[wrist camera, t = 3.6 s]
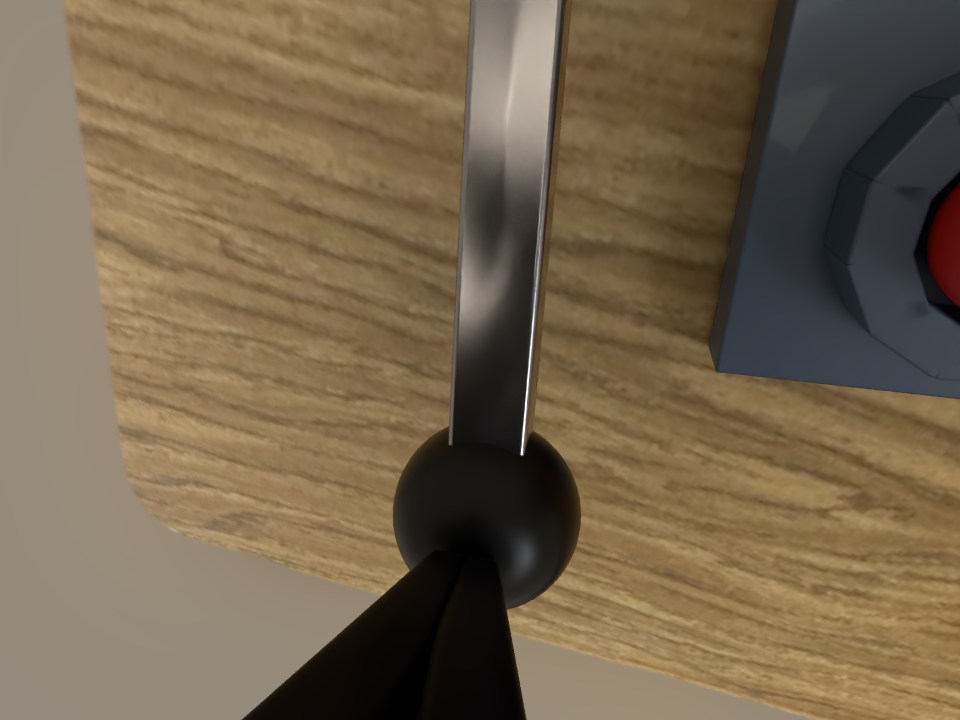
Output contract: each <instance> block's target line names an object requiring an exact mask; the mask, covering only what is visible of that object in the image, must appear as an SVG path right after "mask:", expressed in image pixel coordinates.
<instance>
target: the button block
mask: <svg viewBox="0 0 960 720" xmlns="http://www.w3.org/2000/svg"><path fill="white" fill-rule="evenodd" d="M959 182H960V0H779V2H778V7H777V12H776V17H775V22H774V27H773V32H772V37H771V41H770V46H769V51H768V56H767V61H766V66H765V71H764V76H763V81H762V86H761V91H760V95H759V100H758V105H757V110H756V115H755V120H754V125H753V130H752V135H751V140H750V145H749V150H748V154H747V159H746V164H745V169H744V174H743V179H742V184H741V189H740V194H739V199H738V204H737V208H736V213H735V218H734V223H733V228H732V233H731V238H730V243H729V248H728V253H727V258H726V262H725V267H724V272H723V277H722V282H721V287H720V292H719V297H718V302H717V307H716V312H715V317H714V321H713V326H712V331H711V336H710V341H709V349H710V353H711V356H712V360H713V363H714V366H715V370H716V371H717V372H721V373H730V374H739V375H748V376H757V377H766V378H775V379H784V380H793V381H802V382H811V383H820V384H829V385H838V386H847V387H856V388H865V389H874V390H883V391H892V392H901V393H910V394H919V395H928V396H937V397H946V398H955V399H960V307H959V306H957V305H956V304H955V303H953V302H952V301H951V300H950V299H948V298H947V297H946V296H945V295H944V294H943V293H942V292H941V291H940V289H939V288H938V287H937V285H936V283H935V282H934V280H933V278H932V275H931V273H930V270H929V265H928V260H927V244H928V236H929V233H930V229H931V225H932V223H933V220H934V218H935V216H936V214H937V212H938V210H939V208H940V207H941V205H942V203H943V202H944V200H945V199H946V198H947V196H948V195H949V193H950V192H951V191H952V190H953V189H954V188H955V187H956V186H957V184H958V183H959Z"/></svg>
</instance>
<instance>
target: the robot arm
mask: <svg viewBox="0 0 960 720" xmlns="http://www.w3.org/2000/svg"><path fill="white" fill-rule="evenodd" d="M242 720H526V714H525V709H524V703H523V699H522V692H521V687H520V681H519V676H518V670H517V665H516V659H515V654H514V649H513V643H512V637H511V632H510V626H509V621H508V615H507V610H506V604H505V599H504V593H503V588H502V582H501V576H500V571H499V566H498V563H497V561H496V560H494V559H490V558H484V557H478V556H473V555H470V556H468V557H467V558H465V556H464V555H463V554H461V553H455V552H450V551H444V550H435V551H433V552H431V553H430V554H429V555H428V556H427V557H425V558H424V559H423V560H422V561H421V562H420V563H419V564H418V565H416V566H415V567H414V568H413V569H412V570H411V571H410V572H408V573H407V574H406V575H405V576H404V577H403V578H402V579H401V580H399V581H398V582H397V583H396V584H395V585H394V586H393V587H391V588H390V589H389V590H388V591H387V592H386V593H385V594H384V595H382V596H381V597H380V598H379V599H378V600H377V601H376V602H375V603H373V604H372V605H371V606H370V607H369V608H368V609H367V610H366V611H364V612H363V613H362V614H361V615H360V616H359V617H358V618H356V619H355V620H354V621H353V622H352V623H351V624H350V625H349V626H347V627H346V628H345V629H344V630H343V631H342V632H341V633H339V634H338V635H337V636H336V637H335V638H334V639H333V640H332V641H330V642H329V643H328V644H327V645H326V646H325V647H324V648H322V649H321V650H320V651H319V652H318V653H317V654H316V655H315V656H313V657H312V658H311V659H310V660H309V661H308V662H307V663H305V664H304V665H303V666H302V667H301V668H300V669H299V670H298V671H296V672H295V673H294V674H293V675H292V676H291V677H290V678H289V679H287V680H286V681H285V682H284V683H283V684H282V685H281V686H279V687H278V688H277V689H276V690H275V691H274V692H273V693H272V694H270V695H269V696H268V697H267V698H266V699H265V700H264V701H263V702H261V703H260V704H259V705H258V706H257V707H256V708H255V709H253V710H252V711H251V712H250V713H249V714H248V715H247V716H246V717H244V718H243V719H242Z"/></svg>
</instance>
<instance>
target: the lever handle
mask: <svg viewBox="0 0 960 720" xmlns="http://www.w3.org/2000/svg"><path fill="white" fill-rule="evenodd" d="M571 9H572V0H470V16H469V36H468V56H467V76H466V96H465V116H464V136H463V157H462V177H461V197H460V217H459V237H458V257H457V277H456V297H455V317H454V337H453V357H452V377H451V397H450V417H449V427H447V428H445V429H443V430H441V431H439V432H437V433H436V434H434V435H433V436H432V437H430V438H429V439H428V440H427V441H426V442H425V443H423V444H422V445H421V446H420V447H419V448H418V449H417V451H416V452H415V453H414V454H413V456H412V457H411V458H410V460H409V462H408V463H407V465H406V467H405V468H404V470H403V472H402V474H401V477H400V479H399V482H398V485H397V489H396V493H395V497H394V504H393V527H394V532H395V537H396V541H397V544H398V548H399V551H400V553H401V555H402V557H403V559H404V561H405V563H406V565H407V566H408V568H409V569H410V571H411V570H412V569H413V568H414V567H415V566H416V565H418V564H419V563H420V562H421V561H422V560H423V559H424V558H425V557H427V556H428V555H429V554H430V553H431V552H433V551H435V550H444V551H450V552H455V553H461V554H463V555H464V556H465V558H467V557H468V556H470V555H473V556H478V557H484V558H490V559H494V560H496V561H497V563H498V566H499V571H500V576H501V582H502V588H503V593H504V599H505V604H506V610H507V609H511V608H515V607H518V606H521V605H523V604H525V603H527V602H529V601H531V600H533V599H535V598H536V597H538V596H539V595H541V594H542V593H543V592H545V591H546V590H547V589H548V588H549V587H550V586H551V585H552V584H553V583H554V582H555V581H556V580H557V579H558V578H559V577H560V575H561V574H562V573H563V571H564V570H565V568H566V567H567V565H568V563H569V561H570V559H571V557H572V555H573V553H574V550H575V547H576V545H577V541H578V536H579V531H580V525H581V507H580V498H579V494H578V490H577V486H576V483H575V480H574V478H573V475H572V473H571V471H570V469H569V467H568V465H567V464H566V462H565V460H564V459H563V458H562V456H561V455H560V454H559V452H558V451H557V450H556V449H555V448H554V447H553V446H552V445H551V444H550V443H549V442H548V441H547V440H546V439H544V438H543V437H542V436H541V435H539V434H538V433H536V432H534V431H533V427H534V416H535V405H536V394H537V383H538V372H539V361H540V350H541V339H542V328H543V317H544V306H545V295H546V284H547V273H548V262H549V251H550V240H551V229H552V218H553V207H554V196H555V185H556V174H557V163H558V152H559V141H560V130H561V119H562V108H563V97H564V86H565V75H566V64H567V53H568V42H569V31H570V20H571Z"/></svg>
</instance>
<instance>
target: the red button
mask: <svg viewBox="0 0 960 720" xmlns="http://www.w3.org/2000/svg"><path fill="white" fill-rule="evenodd" d="M927 260H928V265H929V270H930V273H931V275H932V278H933V280H934V282H935V283H936V285H937V287H938V288H939V289H940V291H941V292H942V293H943V294H944V295H945V296H946V297H947V298H948V299H950V300H951V301H952V302H953V303H955V304H956V305H957V306H959V307H960V182H959V183H958V184H957V186H956V187H955V188H954V189H953V190H952V191H951V192H950V193H949V195H948V196H947V198H946V199H945V200H944V202H943V203H942V205H941V207H940V208H939V210H938V212H937V214H936V216H935V218H934V220H933V223H932V225H931V229H930V233H929V236H928V244H927Z"/></svg>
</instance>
